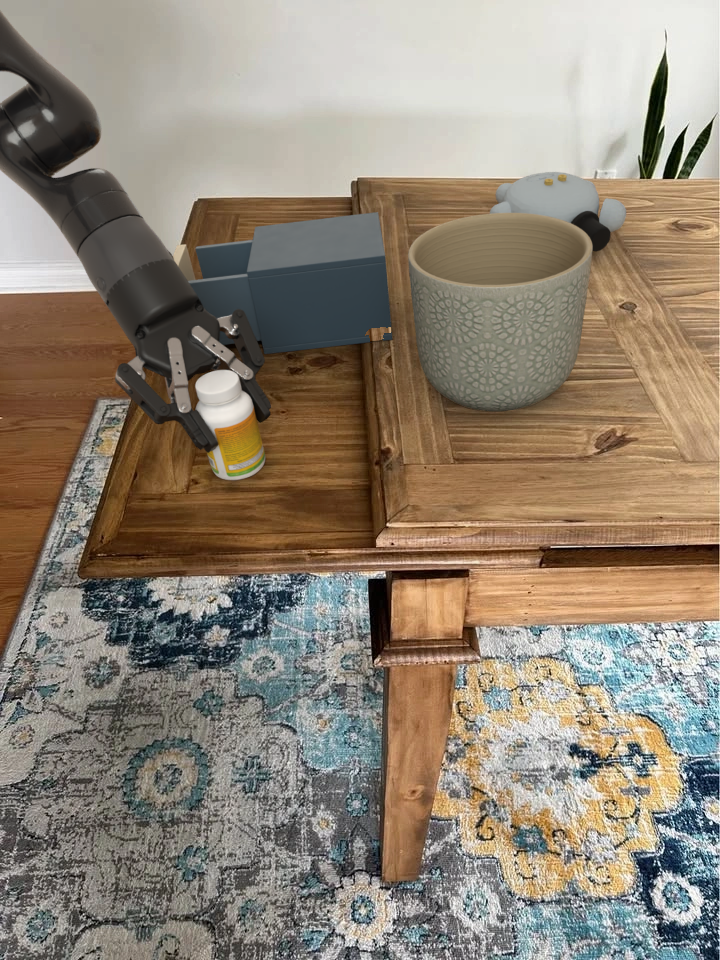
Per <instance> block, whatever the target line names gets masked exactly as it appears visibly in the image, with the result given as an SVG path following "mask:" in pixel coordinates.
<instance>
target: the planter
mask: <svg viewBox="0 0 720 960" xmlns="http://www.w3.org/2000/svg"><path fill="white" fill-rule="evenodd" d="M592 249H593V245H592V241H591V239H590V237H589V236H588V235H587V234H586V233H585V232H584V231H583V230H582V229H580V228H579V227H577V226H575V225H573V224H571V223H569V222H566V221H564V220H561V219H557V218H553V217H549V216H544V215H537V214H528V213H492V214H490V213H484V214H483V213H482V214H475V215H471V216H465V217H460V218H457V219H452V220H450V221H446V222H443V223H441V224H439V225H437V226H434V227H432V228H430V229H428V230H427V231H425V232H423V233H422V234H421V235H419V236H418V237H417V238H415V240H414V241H412V243H411V245H410V246H409V249H408V253H407V254H408V255H407V257H408V259H407V261H408V274H409V275H408V276H409V284H410V285H409V286H410V295H411V304H412V311H413V312H412V313H413V321H414V332H415V343H416V349H417V354H418V355H417V356H418V361H419V365H420V368H421V370H422V372H423V375H424V376H425V378H426V379H427V381H428V382H429V384H430V385H431V386H432V387H433V389H435V390H436V391H437V392H438V393H439V394H441V395H442V396H443V397H445V398H446V399H448V400H449V401H451V402H453V403H455V404H457V405H460V406H461V407H464V408H467V409H472V410H475V411H480V412H481V411H482V412H490V413H491V412H492V413H493V412H494V413H501V412H511V411H517V410H521V409H523V408H524V409H525V408H527V407H530V406H533V405H535V404H537V403H539V402H541V401H543V400H545V399H546V398H548V397H550V396H551V395H552V394H554V393H555V392H556V391H557V390H559V389H560V388H561V387H562V386H563V385H564V384H565V382H566V381H567V380H568V378H569V377H570V375H571V373H572V372H573V370H574V367H575V366H576V362H577V359H578V354H579V350H580V345H581V340H582V333H583V325H584V318H585V311H586V305H587V298H588V292H589V284H590V275H591V268H592V261H593V259H592V258H593V251H592Z"/></svg>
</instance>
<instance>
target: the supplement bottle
mask: <svg viewBox="0 0 720 960" xmlns="http://www.w3.org/2000/svg"><path fill="white" fill-rule="evenodd" d="M194 387H195V392H196V395H197V396H196V397H197V398H198V400H199V401H197V404H196V406H195V410H196V409H197V411H198V412H199V414H200V415H201V417H202V418H203V420H204V421H205V423H206V424H207V426H208V428H209V429H210V431H211V432H212V434H213V435H214V437H215V438H216V440H217V442H218V446H217V447H216V449H214V450H213V451H211V452H209V453H207V452H206V454H207V455H206V456H207V458H208V461H209V464H210V468H211V470H212V473H214V474H215V476H216V477H218V478H219V479H221V480H226V481H240V480H244V479H247V478H249V477H252V476H254V475H256V474H257V473H258V472H259V471H260V470H261V469H262V468H263V467H264V465H265V462H266V453H265V448H264V445H263V440H262V436H261V431H260V428H259V422H258V421H257V419H256V414H255V410H254V406H253V402H252V400H251V398H250V396H249V395H248V394H247V393H246V392H244V391H242V389H241V384H240V380H239V377H238V375H237V374H236V373H235V372H233V371H230V370H217V371H210V372H209V371H208V372H206V373H205V374H203V375H201V376H200V377H198V378H197V380H196V382H195V386H194ZM195 410H194V411H195Z"/></svg>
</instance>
